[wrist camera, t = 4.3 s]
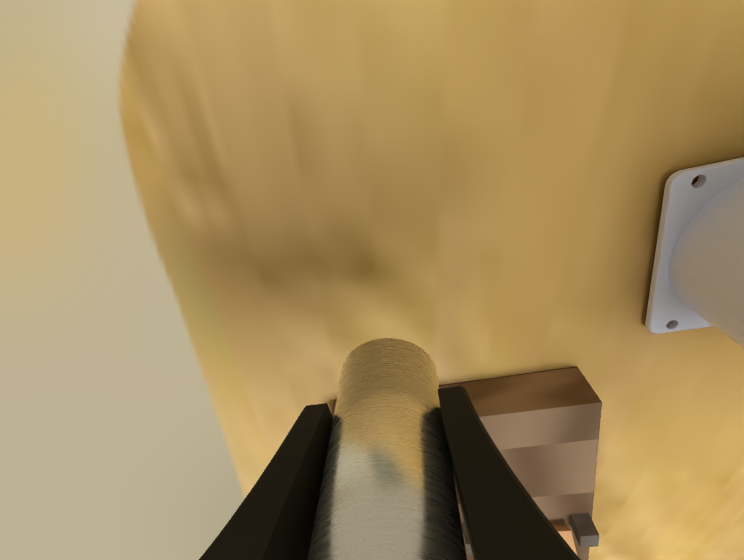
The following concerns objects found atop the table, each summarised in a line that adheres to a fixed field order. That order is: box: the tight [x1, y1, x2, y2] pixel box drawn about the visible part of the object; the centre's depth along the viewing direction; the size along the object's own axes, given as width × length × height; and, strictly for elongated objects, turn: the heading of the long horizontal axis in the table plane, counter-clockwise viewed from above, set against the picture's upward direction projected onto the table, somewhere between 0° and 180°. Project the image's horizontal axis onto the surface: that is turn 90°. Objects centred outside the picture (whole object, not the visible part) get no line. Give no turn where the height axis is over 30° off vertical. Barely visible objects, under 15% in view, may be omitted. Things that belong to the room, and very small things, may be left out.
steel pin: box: [308, 338, 467, 560], centre depth 8 cm, size 3×3×7 cm
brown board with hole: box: [331, 367, 602, 560], centre depth 22 cm, size 14×16×4 cm
